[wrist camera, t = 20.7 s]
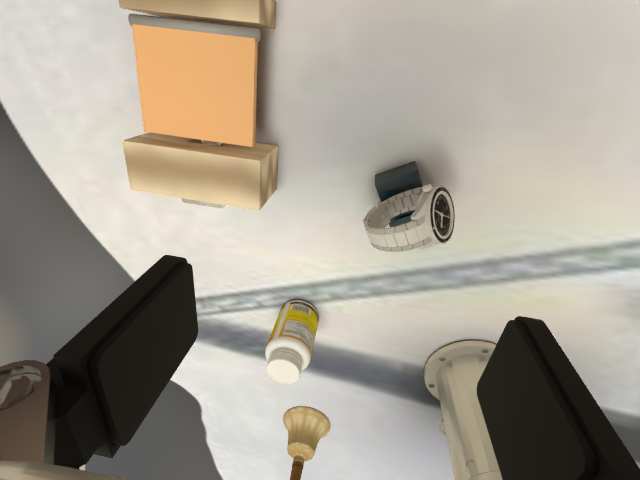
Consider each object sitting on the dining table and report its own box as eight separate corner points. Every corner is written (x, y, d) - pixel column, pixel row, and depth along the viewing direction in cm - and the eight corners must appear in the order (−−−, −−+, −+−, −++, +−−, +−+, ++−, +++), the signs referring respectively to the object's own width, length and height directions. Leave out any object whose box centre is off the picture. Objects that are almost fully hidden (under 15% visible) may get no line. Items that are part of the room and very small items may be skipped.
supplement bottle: (291, 332, 49) (273, 392, 40) (274, 303, 47) (250, 360, 38) (326, 323, 47) (314, 384, 38) (309, 293, 45) (292, 350, 36)
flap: (257, 145, 33) (254, 147, 32) (147, 130, 34) (141, 131, 33) (260, 29, 28) (257, 27, 28) (135, 14, 29) (127, 12, 29)
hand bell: (275, 410, 58) (243, 520, 44) (316, 402, 56) (297, 516, 42) (297, 439, 61) (274, 550, 47) (338, 432, 59) (326, 548, 45)
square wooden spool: (276, 188, 39) (259, 210, 33) (165, 172, 40) (131, 190, 34) (284, 3, 30) (263, -10, 25) (143, -12, 31) (92, -28, 26)
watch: (446, 201, 37) (471, 251, 27) (375, 223, 39) (375, 275, 29) (433, 153, 34) (455, 188, 25) (359, 179, 37) (353, 220, 27)
